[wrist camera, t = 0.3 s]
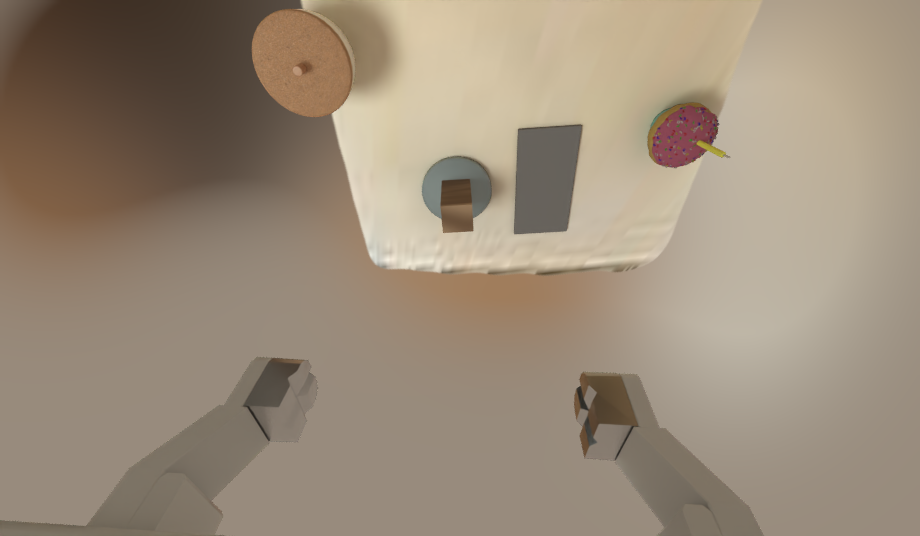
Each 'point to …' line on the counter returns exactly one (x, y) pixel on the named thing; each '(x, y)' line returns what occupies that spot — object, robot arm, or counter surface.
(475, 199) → the slate saucer
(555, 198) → the rubber mat
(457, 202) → the brown rectangular block
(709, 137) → the cupcake
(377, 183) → the counter surface
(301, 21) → the lidded jar
